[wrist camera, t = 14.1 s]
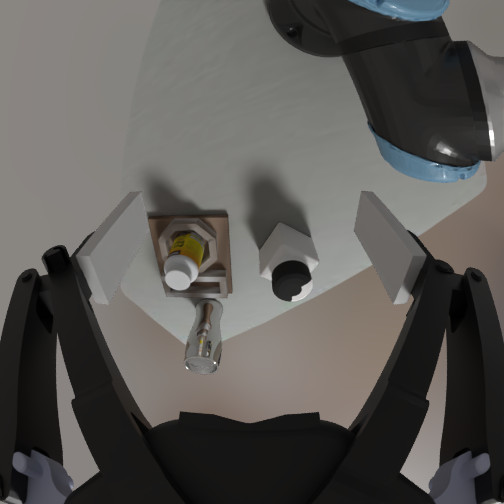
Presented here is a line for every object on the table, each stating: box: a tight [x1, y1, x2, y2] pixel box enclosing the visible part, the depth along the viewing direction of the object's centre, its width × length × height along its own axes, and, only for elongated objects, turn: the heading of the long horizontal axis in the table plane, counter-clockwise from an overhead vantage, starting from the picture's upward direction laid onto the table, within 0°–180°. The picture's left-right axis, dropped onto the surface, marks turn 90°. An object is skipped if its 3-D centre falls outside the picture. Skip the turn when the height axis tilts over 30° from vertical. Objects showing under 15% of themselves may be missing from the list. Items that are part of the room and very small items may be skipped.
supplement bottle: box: [164, 231, 205, 290], centre depth 43 cm, size 6×6×10 cm
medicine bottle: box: [259, 222, 319, 301], centre depth 44 cm, size 7×7×12 cm
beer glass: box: [184, 299, 223, 375], centre depth 52 cm, size 7×7×15 cm
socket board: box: [148, 215, 232, 298], centre depth 49 cm, size 14×17×3 cm
